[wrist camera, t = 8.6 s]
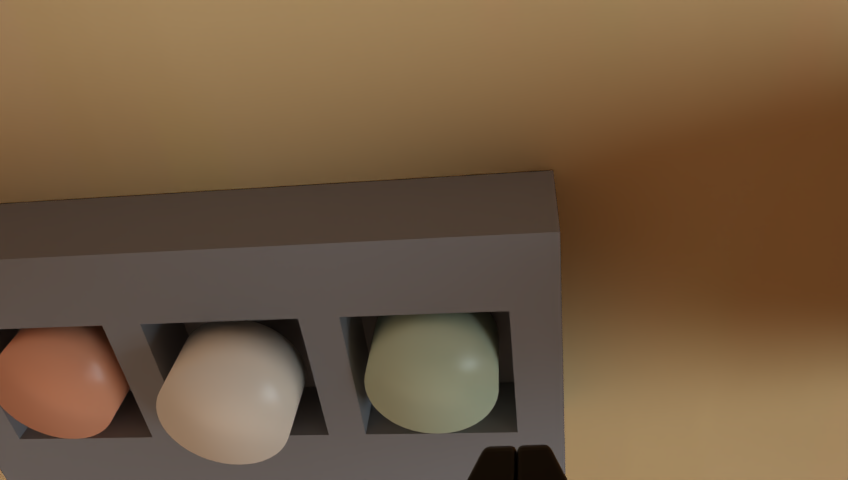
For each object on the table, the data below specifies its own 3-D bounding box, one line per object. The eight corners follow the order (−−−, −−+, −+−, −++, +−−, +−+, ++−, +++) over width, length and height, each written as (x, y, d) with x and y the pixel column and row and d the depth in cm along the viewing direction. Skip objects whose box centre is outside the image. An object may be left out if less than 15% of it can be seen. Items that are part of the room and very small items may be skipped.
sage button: (495, 285, 21) (494, 333, 19) (502, 381, 22) (502, 432, 21) (365, 290, 21) (354, 337, 19) (384, 384, 23) (374, 434, 21)
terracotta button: (118, 300, 22) (87, 346, 20) (156, 389, 24) (130, 438, 22) (6, 305, 23) (-34, 350, 21) (52, 392, 24) (19, 439, 23)
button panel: (553, 170, 20) (559, 231, 17) (559, 410, 25) (565, 485, 22) (-59, 207, 22) (-129, 266, 20) (56, 419, 27) (12, 487, 25)
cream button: (291, 316, 20) (272, 367, 19) (317, 410, 22) (302, 463, 21) (166, 320, 21) (137, 371, 19) (202, 412, 23) (179, 465, 21)
